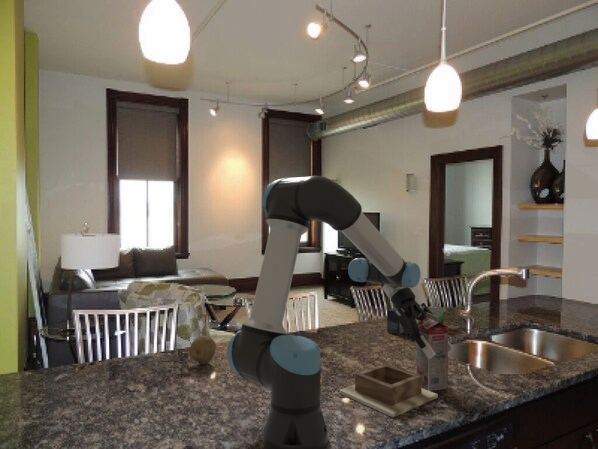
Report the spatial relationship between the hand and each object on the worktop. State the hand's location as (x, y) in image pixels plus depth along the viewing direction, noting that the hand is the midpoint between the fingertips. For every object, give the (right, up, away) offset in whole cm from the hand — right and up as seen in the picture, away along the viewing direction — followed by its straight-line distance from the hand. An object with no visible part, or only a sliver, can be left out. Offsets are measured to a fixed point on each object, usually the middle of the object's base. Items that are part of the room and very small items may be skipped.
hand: (441, 353), depth 134 cm
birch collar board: (-17, -11, -4) cm, 21 cm away
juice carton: (-2, -11, +3) cm, 12 cm away
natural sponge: (-77, -10, +22) cm, 81 cm away
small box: (+2, -9, +65) cm, 66 cm away
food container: (+19, -9, +71) cm, 74 cm away
